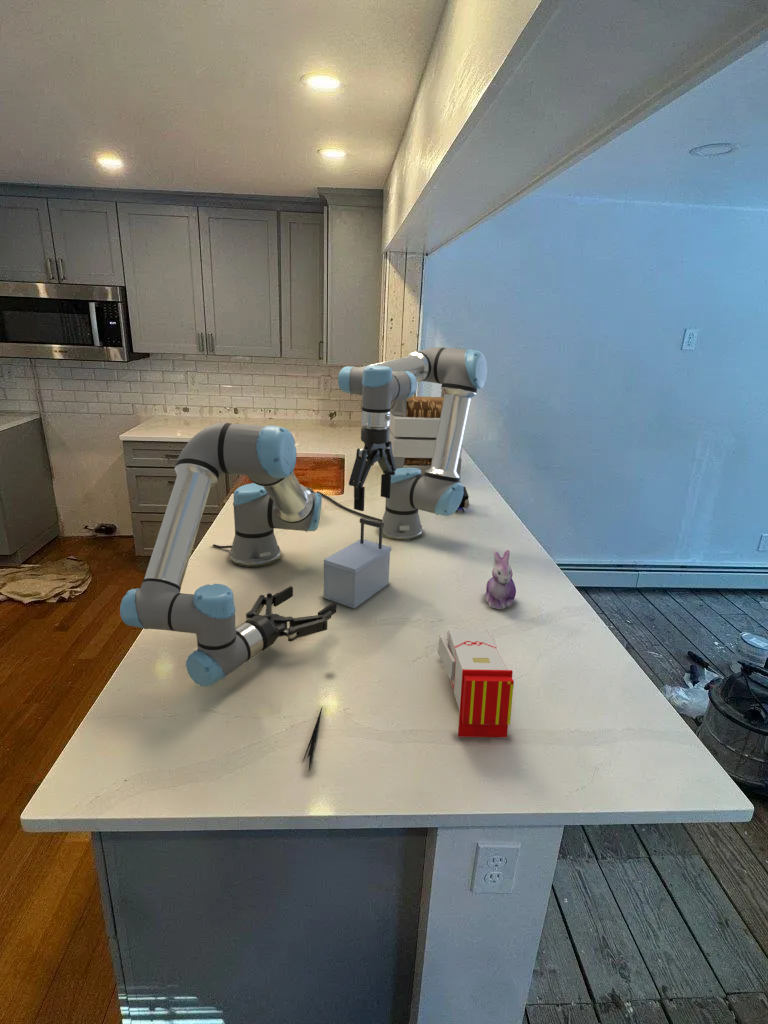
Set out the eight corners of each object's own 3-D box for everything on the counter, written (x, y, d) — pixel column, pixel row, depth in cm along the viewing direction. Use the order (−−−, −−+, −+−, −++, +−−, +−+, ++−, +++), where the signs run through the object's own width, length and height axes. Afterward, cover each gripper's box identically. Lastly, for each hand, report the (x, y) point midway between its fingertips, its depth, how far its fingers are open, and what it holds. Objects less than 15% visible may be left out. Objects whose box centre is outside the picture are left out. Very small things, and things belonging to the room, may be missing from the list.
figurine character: (469, 517, 223) (463, 501, 236) (471, 500, 219) (465, 484, 233) (452, 516, 222) (447, 500, 236) (454, 499, 219) (449, 483, 232)
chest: (359, 574, 168) (360, 543, 165) (388, 583, 163) (390, 551, 160) (323, 597, 154) (323, 564, 151) (354, 608, 149) (355, 574, 146)
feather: (331, 679, 122) (336, 673, 122) (307, 777, 96) (313, 769, 95) (324, 675, 122) (329, 669, 121) (298, 772, 95) (304, 764, 95)
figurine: (497, 613, 149) (504, 562, 144) (474, 596, 158) (480, 547, 153) (525, 606, 154) (532, 556, 149) (501, 590, 162) (508, 542, 157)
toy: (488, 613, 130) (523, 677, 101) (484, 667, 133) (517, 744, 104) (435, 612, 130) (455, 676, 101) (432, 666, 133) (451, 743, 103)
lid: (361, 542, 165) (361, 513, 162) (391, 551, 160) (392, 521, 157) (323, 563, 151) (323, 532, 148) (355, 573, 146) (356, 541, 143)
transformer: (382, 463, 289) (386, 382, 275) (445, 464, 293) (451, 384, 279) (390, 482, 257) (394, 392, 243) (460, 483, 261) (468, 394, 247)
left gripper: (212, 634, 130) (275, 597, 147) (297, 671, 118) (354, 627, 136) (210, 605, 128) (274, 571, 145) (296, 641, 116) (355, 599, 133)
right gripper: (361, 436, 137) (358, 518, 144) (410, 422, 157) (406, 494, 164) (335, 432, 140) (334, 512, 147) (387, 418, 161) (384, 489, 168)
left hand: (313, 598), depth 140 cm, fingers open, 13 cm apart
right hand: (372, 503), depth 156 cm, fingers open, 13 cm apart
